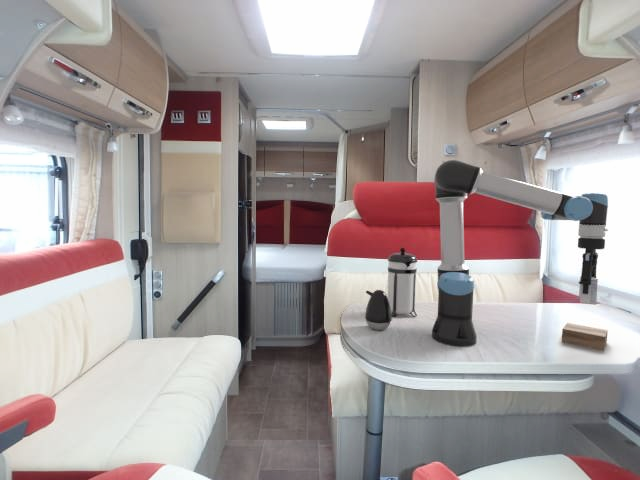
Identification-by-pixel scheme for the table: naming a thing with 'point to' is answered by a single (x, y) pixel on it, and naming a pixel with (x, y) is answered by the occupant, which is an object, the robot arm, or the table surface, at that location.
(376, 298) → the pump dispenser
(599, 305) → the table surface
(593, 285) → the medicine box
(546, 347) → the table surface
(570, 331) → the walnut block
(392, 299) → the coffee press
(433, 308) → the table surface
